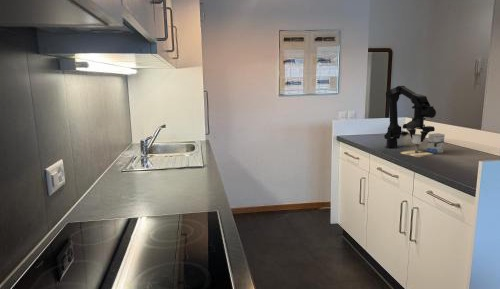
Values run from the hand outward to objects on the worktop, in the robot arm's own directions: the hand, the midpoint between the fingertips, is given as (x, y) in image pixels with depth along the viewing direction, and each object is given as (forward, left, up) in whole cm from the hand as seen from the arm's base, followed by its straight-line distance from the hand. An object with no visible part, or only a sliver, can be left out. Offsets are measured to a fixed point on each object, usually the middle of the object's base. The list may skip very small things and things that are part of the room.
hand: (417, 141), depth 223 cm
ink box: (+2, +15, -9) cm, 17 cm away
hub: (0, 0, -1) cm, 1 cm away
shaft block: (0, 0, -8) cm, 8 cm away
